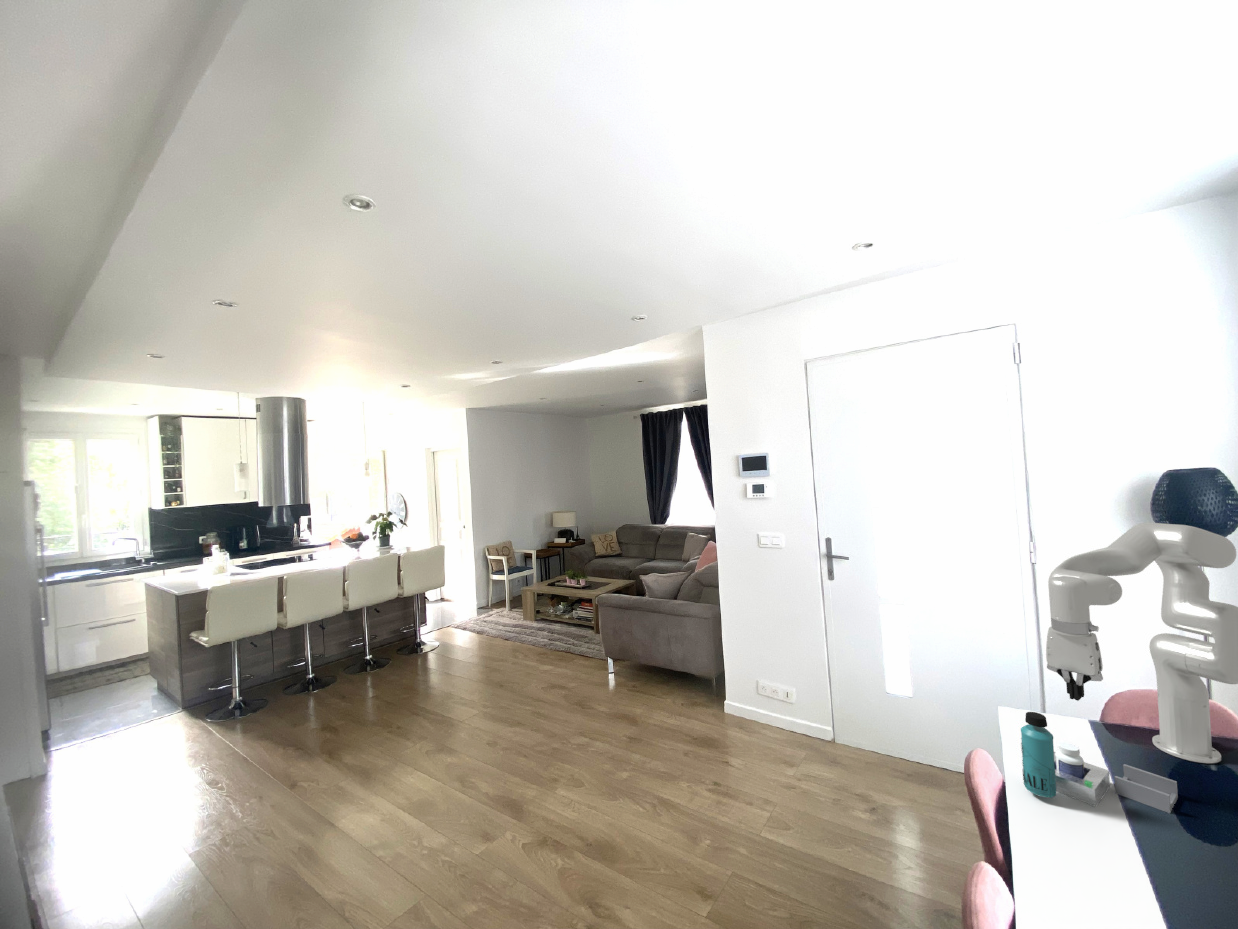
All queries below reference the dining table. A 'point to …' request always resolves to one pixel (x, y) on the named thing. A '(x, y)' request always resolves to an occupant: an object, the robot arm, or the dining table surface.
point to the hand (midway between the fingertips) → (1075, 698)
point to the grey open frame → (1147, 788)
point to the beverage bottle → (1038, 756)
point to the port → (1084, 784)
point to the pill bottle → (1069, 760)
